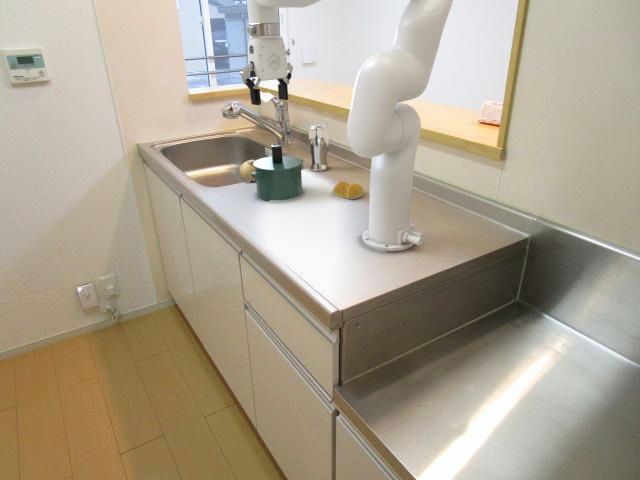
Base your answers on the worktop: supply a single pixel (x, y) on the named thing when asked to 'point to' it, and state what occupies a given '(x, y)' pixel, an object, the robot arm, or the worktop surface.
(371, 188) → the robot arm
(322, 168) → the pepper mill
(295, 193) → the pot
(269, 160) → the lid
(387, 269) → the worktop surface
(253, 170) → the onion
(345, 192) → the bread roll
